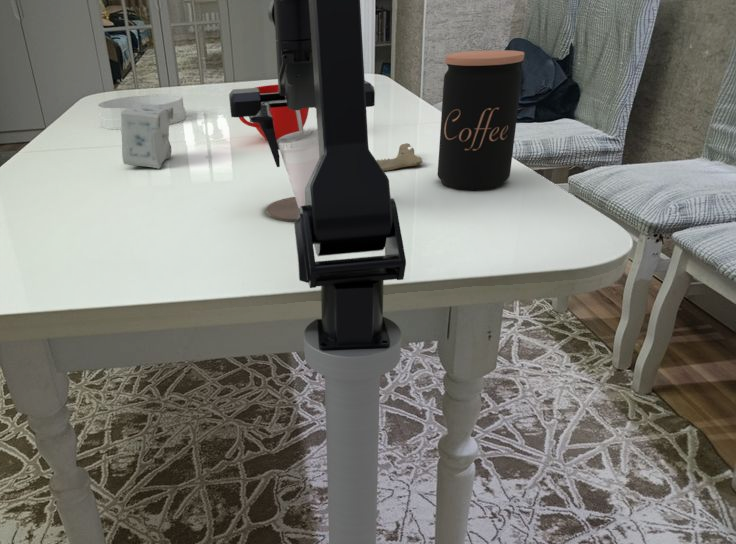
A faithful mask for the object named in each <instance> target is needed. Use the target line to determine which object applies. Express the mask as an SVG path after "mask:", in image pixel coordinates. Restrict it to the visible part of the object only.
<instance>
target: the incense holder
mask: <svg viewBox="0 0 736 544" xmlns="http://www.w3.org/2000/svg"><path fill="white" fill-rule="evenodd" d="M171 119H172V120H173V107H165V106H157V105H149V104H141V103H139V104H136V105H134V106H132V107H131V108H129V109H126V110H123V111H122V112H121V130H120V131H121V157H122V162H123V164H124V165H128V166H136V167H149V168H153V169H158V170H160V169H161V167H162V166H163V163H164V162H165V161H166V160H169V159H170V158H171V156H172V145H171V142H170V125H169V122H170V120H171Z"/></svg>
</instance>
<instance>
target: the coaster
mask: <svg viewBox="0 0 736 544" xmlns="http://www.w3.org/2000/svg"><path fill="white" fill-rule="evenodd" d="M266 214H267V215H268V217H270V218H272V219H275V220H278V221H283V222H294V223H295V222H296V220H297V219H298V217H299V214H300V208H298V205H297V202H296V199H295V196H292V197H291V196H290V197H286V198H281V199H279V200H276V201H273V202H271V203H270V204H269V205H268V206H266Z"/></svg>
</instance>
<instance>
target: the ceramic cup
mask: <svg viewBox="0 0 736 544" xmlns="http://www.w3.org/2000/svg"><path fill="white" fill-rule="evenodd" d="M254 88H258V89H259V91H260V94H263V93H276V92H279V90H278V84H269V85H260V86H255V87H254ZM309 109H310V108H302V109H300V114H301V120H302V126H303V128H304V127H305V125H306V123H307V119H308V115H309ZM270 113H271V115H272V117H273V123H274V130H275V136H276V141H277V139H279V138H280V137H282V136H284V135H287V134H290V133H294V132H298V131H299V127H298V121H297V116H296V110H291V109H289V108H288V106H286V107H274V108H270ZM245 118H246V117H238V119H239V120H240V122H241V123H243V125H246V126H248V127H252V128H255V129H256V131H257V132H258V133H259V134H260V135H261V136H262V137H263V138H264V140H265V141H266V142H268V141H267V139H266V137H265V135H264V133H263V131H262V129H261V127H260V125H259V123H252V122H250V121H248V120H247V119H245Z"/></svg>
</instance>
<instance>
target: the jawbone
mask: <svg viewBox="0 0 736 544" xmlns="http://www.w3.org/2000/svg"><path fill="white" fill-rule="evenodd" d="M398 147H399V148H398V153H397V156H395V157H394V158H384V159H382V158H381V159H376V161H377V162H378V164H379V165H380V167H381V168H382V170H383V171H384V172H387V171H393V170H397V169H401V168H405V167H406V168H407V167H414V166H420V165H422V163H423V159H422V157H420V156H418V155H416V154H415V149H414V147H412V145H411V144H410V143H402V144H400V146H398ZM410 147H411V148H410ZM408 148H409V149H408Z"/></svg>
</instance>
